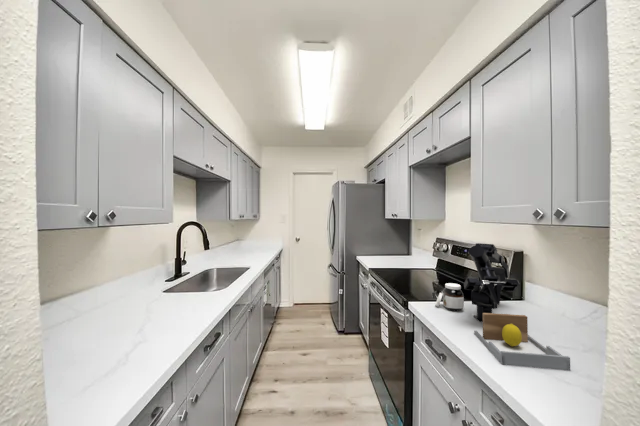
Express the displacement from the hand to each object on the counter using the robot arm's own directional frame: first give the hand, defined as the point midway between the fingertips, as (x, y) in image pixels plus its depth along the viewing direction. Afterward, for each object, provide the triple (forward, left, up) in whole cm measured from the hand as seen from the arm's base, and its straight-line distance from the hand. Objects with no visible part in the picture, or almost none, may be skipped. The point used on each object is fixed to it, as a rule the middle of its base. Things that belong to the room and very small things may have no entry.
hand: (498, 304), depth 101 cm
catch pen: (+12, 0, -11) cm, 17 cm away
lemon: (+10, 0, -12) cm, 15 cm away
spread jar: (-27, -10, -12) cm, 31 cm away
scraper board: (+5, 0, -11) cm, 12 cm away
